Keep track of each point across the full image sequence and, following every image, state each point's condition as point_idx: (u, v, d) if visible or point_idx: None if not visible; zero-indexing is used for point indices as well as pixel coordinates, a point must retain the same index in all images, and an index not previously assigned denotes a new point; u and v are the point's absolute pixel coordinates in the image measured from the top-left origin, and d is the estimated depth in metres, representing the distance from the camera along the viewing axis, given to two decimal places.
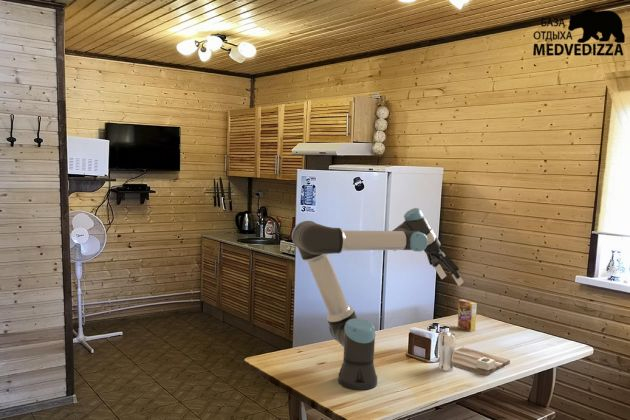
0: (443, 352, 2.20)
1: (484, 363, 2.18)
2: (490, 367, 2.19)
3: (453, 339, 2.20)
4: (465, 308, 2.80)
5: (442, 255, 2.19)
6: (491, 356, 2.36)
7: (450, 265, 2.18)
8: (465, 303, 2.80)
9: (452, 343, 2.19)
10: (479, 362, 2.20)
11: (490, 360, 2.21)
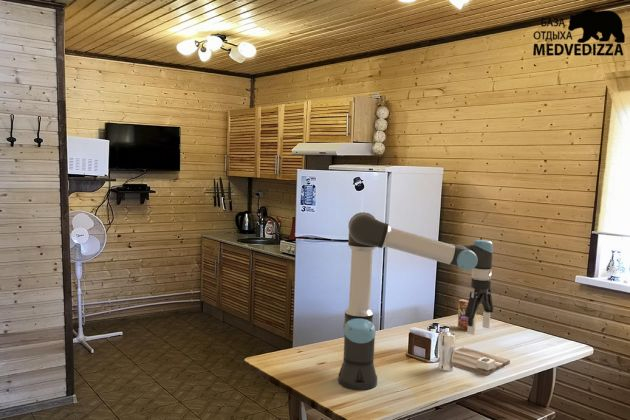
0: (443, 352, 2.20)
1: (484, 363, 2.18)
2: (490, 367, 2.19)
3: (453, 339, 2.20)
4: (465, 308, 2.80)
5: (471, 294, 2.09)
6: (491, 356, 2.36)
7: (468, 307, 2.08)
8: (465, 303, 2.80)
9: (452, 343, 2.19)
10: (479, 362, 2.20)
11: (490, 360, 2.21)
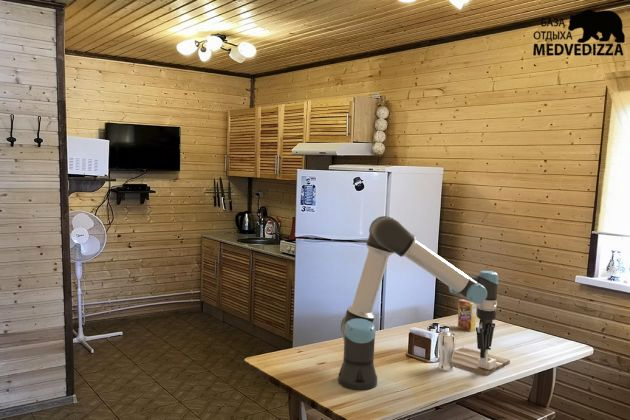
0: (443, 352, 2.20)
1: None
2: (491, 366, 2.19)
3: (453, 339, 2.20)
4: (465, 308, 2.80)
5: (477, 330, 2.14)
6: (491, 356, 2.36)
7: (478, 341, 2.16)
8: (465, 303, 2.80)
9: (452, 343, 2.19)
10: None
11: (491, 359, 2.21)
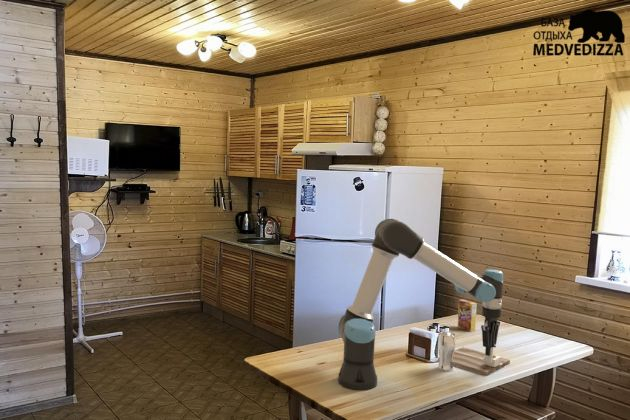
0: (443, 352, 2.20)
1: None
2: (496, 364, 2.23)
3: (453, 339, 2.20)
4: (465, 308, 2.80)
5: (482, 328, 2.18)
6: None
7: (483, 339, 2.19)
8: (465, 303, 2.80)
9: (452, 343, 2.19)
10: None
11: (496, 357, 2.25)
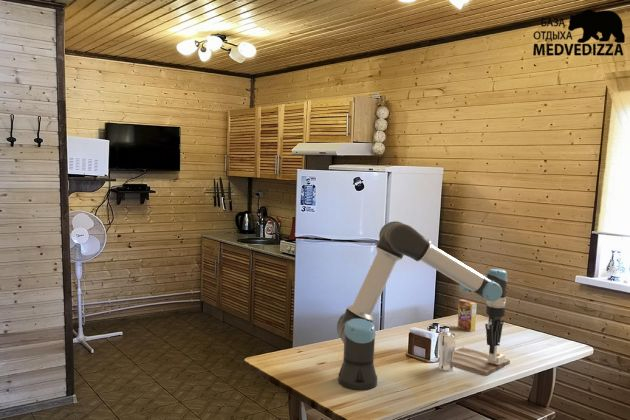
0: (443, 352, 2.20)
1: None
2: (500, 362, 2.26)
3: (453, 339, 2.20)
4: (465, 308, 2.80)
5: (486, 327, 2.20)
6: None
7: (487, 337, 2.22)
8: (465, 303, 2.80)
9: (452, 343, 2.19)
10: None
11: (500, 355, 2.27)
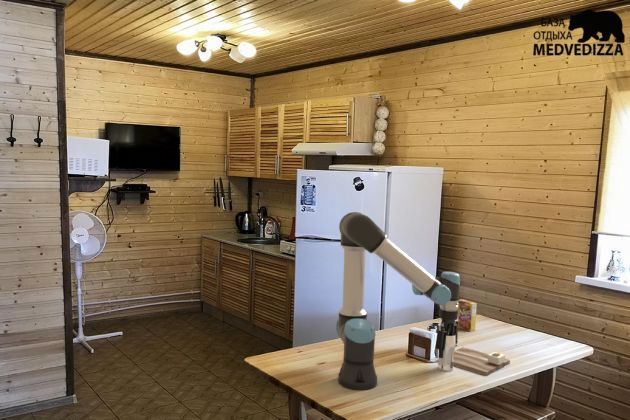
0: None
1: (495, 358, 2.25)
2: (500, 362, 2.26)
3: (453, 339, 2.20)
4: (465, 308, 2.80)
5: (438, 328, 2.18)
6: None
7: (437, 340, 2.18)
8: (465, 303, 2.80)
9: (452, 343, 2.19)
10: (490, 357, 2.27)
11: (500, 355, 2.28)
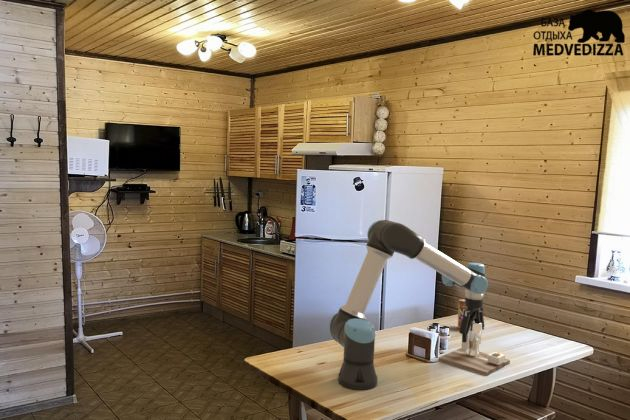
0: (471, 339, 2.35)
1: (495, 358, 2.25)
2: (500, 362, 2.26)
3: (480, 326, 2.34)
4: (465, 308, 2.80)
5: (464, 313, 2.31)
6: None
7: (462, 325, 2.30)
8: None
9: (479, 330, 2.34)
10: (490, 357, 2.27)
11: (500, 355, 2.28)
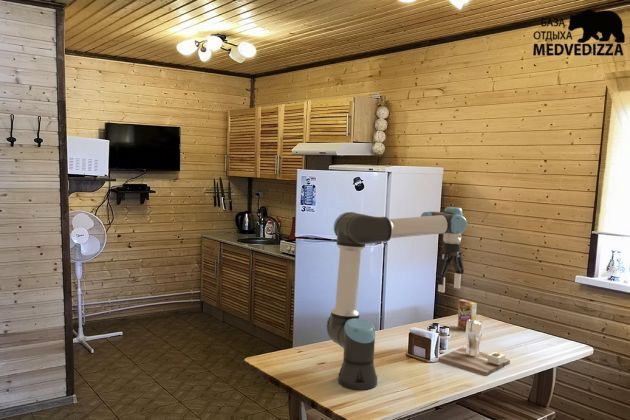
0: (471, 339, 2.35)
1: (495, 358, 2.25)
2: (500, 362, 2.26)
3: (480, 326, 2.34)
4: (465, 308, 2.80)
5: (441, 256, 2.29)
6: None
7: (438, 267, 2.28)
8: (465, 303, 2.80)
9: (479, 330, 2.34)
10: (490, 357, 2.27)
11: (500, 355, 2.28)
